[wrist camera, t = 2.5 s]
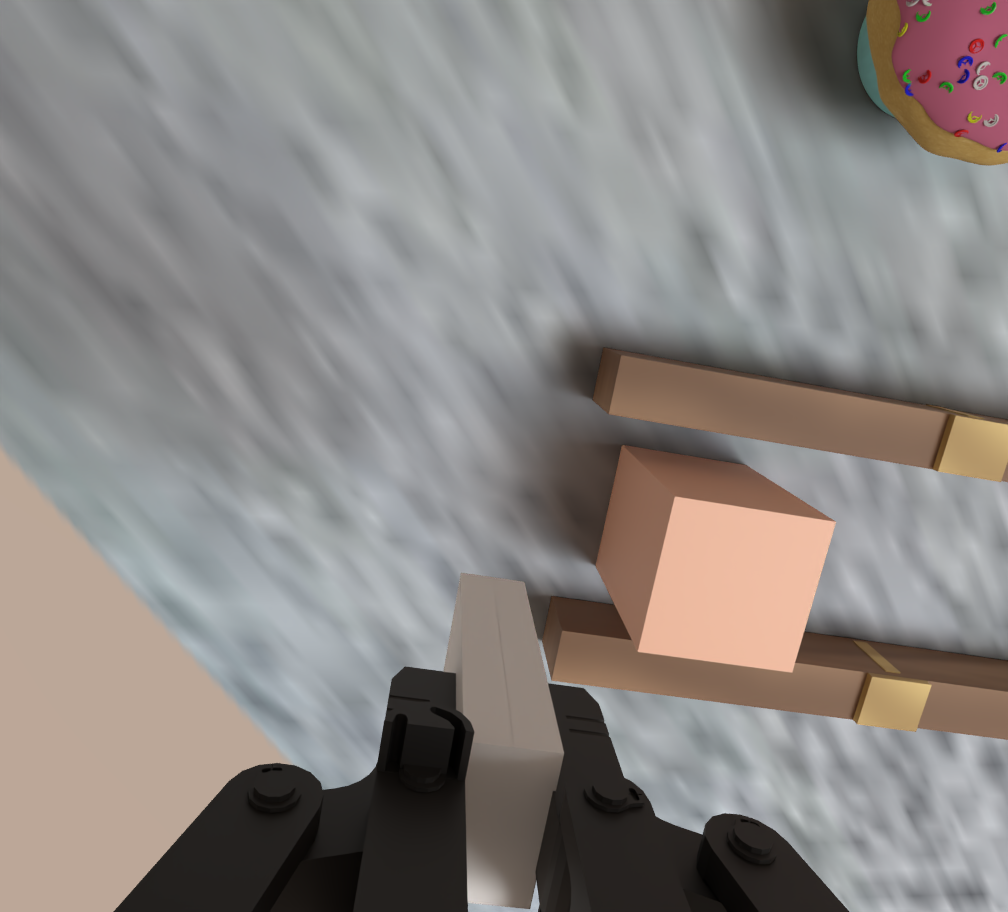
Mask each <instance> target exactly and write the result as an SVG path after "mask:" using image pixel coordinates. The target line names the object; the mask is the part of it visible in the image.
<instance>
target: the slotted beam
mask: <svg viewBox="0 0 1008 912" xmlns="http://www.w3.org/2000/svg"><path fill="white" fill-rule="evenodd" d="M593 401H594V402H595V403H596V404H597V405H599V406H600V407H601V408H602V409H603V410H604V411H606V412H607V413H608V414H610V415H616V416H622V417H628V418H634V419H640V420H646V421H651V422H657V423H663V424H669V425H675V426H681V427H687V428H693V429H699V430H704V431H710V432H716V433H722V434H728V435H734V436H740V437H746V438H752V439H757V440H763V441H769V442H775V443H781V444H787V445H793V446H799V447H805V448H811V449H816V450H822V451H828V452H834V453H840V454H846V455H852V456H858V457H864V458H869V459H875V460H881V461H887V462H893V463H899V464H905V465H911V466H917V467H922V468H928V469H933V470H936V471H939V472H945V473H951V474H957V475H962V476H968V477H974V478H980V479H986V480H992V481H998V482H1001V481H1005V482H1008V420H1006V419H1001V418H995V417H990V416H984V415H979V414H973V413H967V412H962V411H956V410H951V409H947V408H943V407H939V406H933V405H928V404H926V405H923V404H917V403H912V402H906V401H900V400H895V399H889V398H884V397H878V396H873V395H867V394H861V393H856V392H850V391H845V390H839V389H834V388H828V387H822V386H817V385H811V384H806V383H800V382H794V381H789V380H783V379H778V378H772V377H767V376H761V375H755V374H750V373H744V372H739V371H733V370H728V369H722V368H716V367H711V366H705V365H700V364H694V363H689V362H683V361H677V360H672V359H666V358H661V357H655V356H650V355H644V354H638V353H633V352H627V351H622V350H616V349H610V348H605V347H603V352H602V357H601V362H600V366H599V371H598V376H597V381H596V386H595V390H594V395H593ZM542 643H543V647H544V651H545V655H546V659H547V664H548V668H549V672H550V676H551V680H552V681H560V682H567V683H575V684H583V685H590V686H598V687H606V688H613V689H621V690H629V691H637V692H644V693H652V694H660V695H667V696H675V697H683V698H690V699H698V700H706V701H714V702H721V703H729V704H737V705H744V706H752V707H760V708H768V709H775V710H783V711H791V712H798V713H806V714H814V715H821V716H829V717H837V718H845V719H852V720H854V721H855V722H856V723H857V724H860V725H867V726H875V727H883V728H891V729H898V730H906V731H914V732H916V730H917V728H922V729H929V730H937V731H945V732H952V733H960V734H968V735H976V736H983V737H991V738H999V739H1006V740H1008V661H1006V660H999V659H992V658H985V657H978V656H971V655H964V654H957V653H950V652H943V651H935V650H928V649H921V648H914V647H907V646H900V645H893V644H886V643H879V642H872V641H865V640H858V639H851V638H844V637H837V636H830V635H823V634H816V633H809V632H804V634H803V637H802V641H801V644H800V648H799V651H798V654H797V658H796V661H795V665H794V668H793V672H792V673H791V672H783V671H776V670H769V669H761V668H754V667H746V666H739V665H732V664H724V663H717V662H709V661H702V660H695V659H687V658H680V657H672V656H665V655H658V654H650V653H643V652H638V651H637V649H636V647H635V645H634V643H633V641H632V639H631V637H630V635H629V633H628V631H627V629H626V627H625V625H624V623H623V621H622V619H621V617H620V615H619V613H618V611H617V609H616V607H615V605H612V604H605V603H597V602H590V601H583V600H576V599H569V598H562V597H555V596H551V601H550V606H549V611H548V616H547V620H546V625H545V630H544V635H543V640H542Z"/></svg>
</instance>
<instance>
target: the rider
mask: <svg viewBox="0 0 1008 912" xmlns="http://www.w3.org/2000/svg"><path fill="white" fill-rule="evenodd" d="M835 524H836V522H835V521H834V520H832V519H831V518H829V517H827V516H826V515H824V514H823V513H821V512H819V511H818V510H816V509H815V508H813V507H812V506H810V505H808V504H807V503H805V502H804V501H802V500H800V499H799V498H797V497H796V496H794V495H793V494H791V493H789V492H788V491H786V490H785V489H783V488H781V487H780V486H778V485H777V484H775V483H774V482H772V481H770V480H769V479H767V478H766V477H764V476H762V475H761V474H759V473H758V472H756V471H755V470H753V469H751V468H750V467H748V466H747V465H742V464H736V463H730V462H724V461H718V460H712V459H706V458H700V457H693V456H687V455H681V454H675V453H669V452H663V451H657V450H651V449H645V448H639V447H633V446H626V445H622V448H621V452H620V457H619V461H618V466H617V471H616V475H615V480H614V484H613V489H612V493H611V498H610V503H609V507H608V512H607V516H606V521H605V525H604V530H603V534H602V539H601V544H600V548H599V553H598V557H597V562H596V568H597V570H598V572H599V574H600V576H601V578H602V580H603V582H604V584H605V586H606V588H607V590H608V592H609V594H610V596H611V598H612V600H613V602H614V605H615V607H616V609H617V611H618V613H619V615H620V617H621V619H622V621H623V623H624V625H625V627H626V629H627V631H628V633H629V635H630V637H631V639H632V641H633V643H634V645H635V647H636V649H637V651H638V652H643V653H650V654H658V655H665V656H672V657H680V658H687V659H695V660H702V661H709V662H717V663H724V664H732V665H739V666H746V667H754V668H761V669H769V670H776V671H783V672H791V673H792V672H793V668H794V665H795V661H796V658H797V654H798V651H799V648H800V644H801V641H802V637H803V634H804V630H805V627H806V623H807V620H808V617H809V613H810V610H811V606H812V603H813V599H814V596H815V592H816V589H817V586H818V582H819V579H820V575H821V572H822V568H823V565H824V562H825V558H826V555H827V551H828V548H829V544H830V541H831V537H832V534H833V531H834V527H835Z"/></svg>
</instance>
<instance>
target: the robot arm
mask: <svg viewBox="0 0 1008 912" xmlns="http://www.w3.org/2000/svg"><path fill="white" fill-rule="evenodd" d="M536 880H537V888H538V895H539V902H540V905H539V909H538V912H849V911H848V910H847V909H846V907H845V906H844V905H843V904H842V903H841V902H840V901H839V900H838V898H837V897H836V896H835V895H834V894H833V893H832V892H831V890H830V889H829V888H828V887H827V886H826V885H825V884H824V883H823V881H822V880H821V879H820V878H819V877H818V876H817V875H816V873H815V872H814V871H813V870H812V869H811V868H810V867H809V866H808V864H807V863H806V862H805V861H804V860H803V859H802V858H801V856H800V855H799V854H798V853H797V852H796V851H795V850H794V849H793V847H792V846H791V845H790V844H789V843H788V842H787V841H786V840H785V839H784V838H783V837H781V836H780V835H779V834H778V833H777V832H776V831H775V830H773V829H772V828H770V827H768V826H766V825H765V824H763V823H761V822H760V821H758V820H755V819H753V818H749V817H746V816H743V815H737V814H726V813H724V814H720V815H717V816H713V817H712V818H711V819H710V820H709V821H708V822H707V823H706V824H705V828H704V832H703V835H701V834H699V833H696V832H693V831H690V830H687V829H684V828H681V827H678V826H675V825H673V824H670V823H668V822H666V821H663V820H661V819H659V818H658V817H656V816H655V813H654V811H653V808H652V805H651V803H650V801H649V799H648V798H647V796H646V795H645V793H644V792H643V791H642V790H641V789H640V788H639V787H638V786H636V785H635V784H634V783H633V782H632V781H630V780H628V779H626V778H624V776H623V773H622V770H621V767H620V764H619V762H618V759H617V756H616V753H615V750H614V747H613V744H612V741H611V738H610V737H609V732H608V730H607V727H606V724H605V723H604V718H603V715H602V712H601V709H600V706H599V704H598V703H597V702H596V701H595V700H594V699H593V697H592V696H591V695H590V694H589V693H588V692H587V691H586V690H585V689H584V688H578V687H571V686H563V685H556V684H548V682H547V677H546V673H545V669H544V665H543V660H542V656H541V652H540V647H539V643H538V639H537V634H536V630H535V626H534V621H533V617H532V613H531V608H530V604H529V600H528V596H527V591H526V587H525V583H524V582H521V581H515V580H508V579H501V578H494V577H487V576H480V575H473V574H467V573H461V576H460V581H459V587H458V592H457V598H456V604H455V609H454V615H453V621H452V626H451V632H450V638H449V643H448V649H447V655H446V660H445V666H444V672H442V671H435V670H427V669H420V668H412V667H404V668H403V669H402V670H401V671H400V672H399V673H398V674H397V675H396V676H394V677H393V678H392V681H391V687H390V693H389V699H388V705H387V711H386V717H385V720H384V726H383V732H382V738H381V744H380V751H379V757H378V762H377V764H376V767H375V768H374V770H373V771H372V772H371V773H370V774H369V775H368V776H367V777H365V778H364V779H362V780H361V781H359V782H356V783H354V784H351V785H349V786H345V787H340V788H335V789H327V790H322V787H321V783H320V781H319V780H318V779H317V778H316V777H315V776H314V775H313V774H312V773H311V772H309V771H306V770H304V769H302V768H300V767H297V766H294V765H287V764H280V763H274V764H264V765H258V766H255V767H252V768H249V769H247V770H244V771H242V772H241V773H239V774H238V775H237V776H235V777H234V778H233V779H231V780H230V781H229V782H228V783H227V784H226V785H225V786H224V787H223V789H222V790H221V791H220V792H219V793H218V794H217V795H216V797H215V798H214V799H213V800H212V801H211V802H210V803H209V804H208V806H207V807H206V808H205V809H204V810H203V811H202V812H201V814H200V815H199V816H198V817H197V818H196V819H195V820H194V821H193V823H192V824H191V825H190V826H189V827H188V828H187V829H186V830H185V832H184V833H183V834H182V835H181V836H180V837H179V838H178V839H177V841H176V842H175V843H174V844H173V845H172V846H171V847H170V849H169V850H168V851H167V852H166V853H165V854H164V855H163V856H162V858H161V859H160V860H159V861H158V862H157V864H155V866H154V867H153V868H152V869H151V870H150V871H149V872H148V873H147V875H146V876H145V877H144V878H143V879H142V880H141V881H140V882H139V884H138V885H137V886H136V887H135V888H134V889H133V890H132V892H131V893H130V894H129V895H128V896H127V897H126V898H125V900H124V901H123V902H122V903H121V904H120V905H119V906H118V907H117V908H116V910H115V911H114V912H468V903H475V904H485V905H495V906H505V907H514V908H524V909H530V907H531V902H532V898H533V893H534V888H535V884H536Z"/></svg>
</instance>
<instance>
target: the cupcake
mask: <svg viewBox="0 0 1008 912" xmlns="http://www.w3.org/2000/svg"><path fill="white" fill-rule="evenodd" d="M857 64H858V70H859V74H860V78H861V81H862V84H863V86H864V88H865V90H866V92H867V94H868V95H869V97H870V98H871V99H872V101H873V102H874V103H875V104H876V105H877V106H878V107H879V108H880V109H881V110H883V111H884V112H886V113H887V114H889V115H891V116H893V117H895V118H896V119H897V120H898V121H899V122H900V124H901V125H902V126H903V127H904V128H905V129H906V130H907V132H908V133H909V134H910V135H911V136H912V137H913V139H914V140H915V141H916V142H917V143H918V144H919V145H920V146H921V147H922V148H924V149H925V150H926V151H928V152H930V153H933V154H935V155H939V156H944V157H950V158H955V159H959V160H962V161H966V162H970V163H974V164H980V165H998V164H1004V163H1008V0H869V2H868V7H867V14H866V17H865V19H864V21H863V24H862V27H861V30H860V34H859V39H858V46H857Z"/></svg>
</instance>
